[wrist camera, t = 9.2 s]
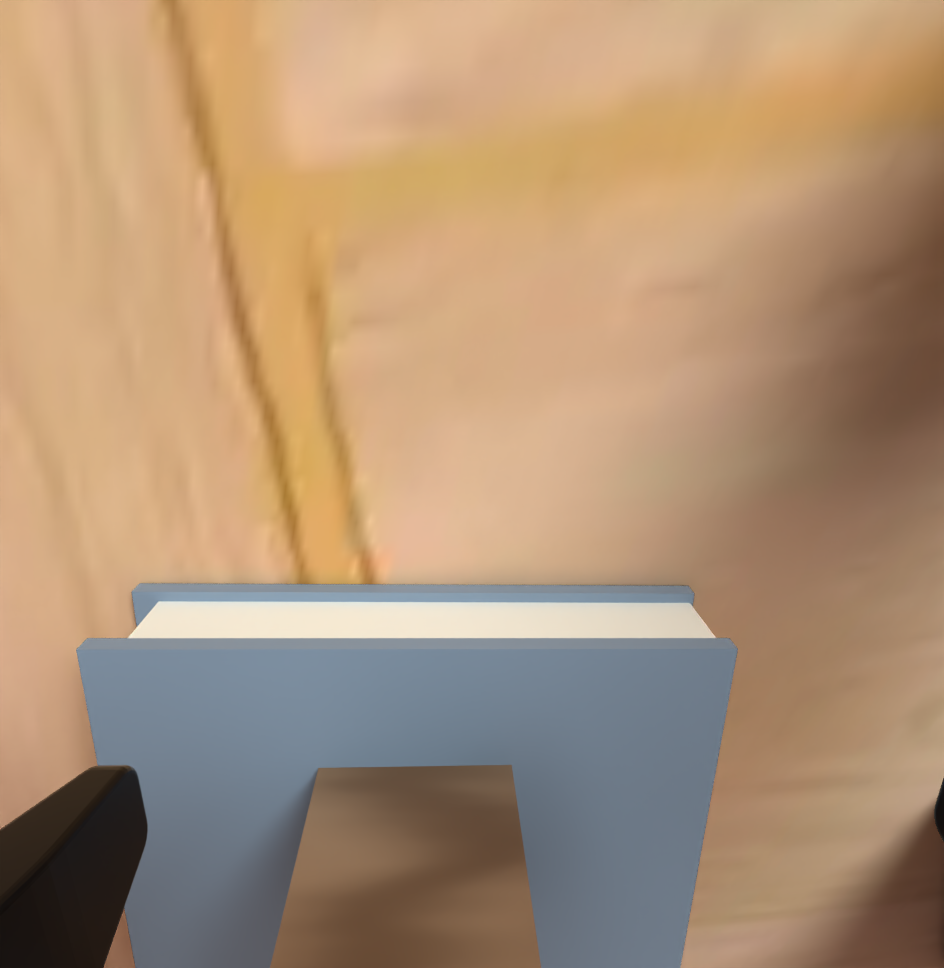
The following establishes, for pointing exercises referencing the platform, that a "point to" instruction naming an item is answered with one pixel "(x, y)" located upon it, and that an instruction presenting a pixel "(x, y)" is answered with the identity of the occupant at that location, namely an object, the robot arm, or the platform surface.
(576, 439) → the platform surface
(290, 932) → the walnut block
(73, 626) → the platform surface
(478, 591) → the book
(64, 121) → the platform surface
